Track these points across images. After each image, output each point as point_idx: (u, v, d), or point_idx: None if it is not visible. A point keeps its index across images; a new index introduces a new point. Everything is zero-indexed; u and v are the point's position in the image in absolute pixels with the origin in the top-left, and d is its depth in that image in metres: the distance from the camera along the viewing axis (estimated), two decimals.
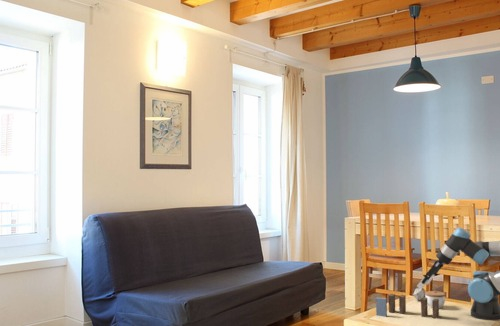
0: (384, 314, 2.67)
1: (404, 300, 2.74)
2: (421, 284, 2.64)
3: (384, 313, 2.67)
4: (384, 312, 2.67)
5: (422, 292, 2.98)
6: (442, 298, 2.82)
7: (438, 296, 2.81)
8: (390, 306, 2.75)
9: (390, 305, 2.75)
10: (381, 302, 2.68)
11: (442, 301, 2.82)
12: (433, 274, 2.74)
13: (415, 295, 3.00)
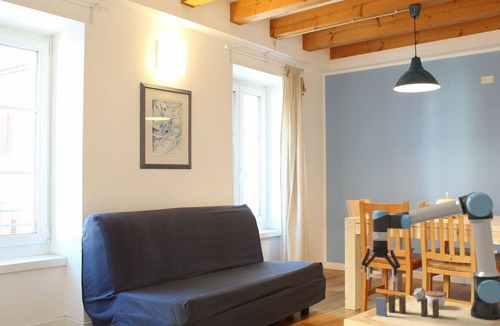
0: (384, 314, 2.67)
1: (404, 300, 2.74)
2: (394, 277, 2.66)
3: (384, 313, 2.67)
4: (384, 312, 2.67)
5: (422, 292, 2.98)
6: (442, 298, 2.82)
7: (438, 296, 2.81)
8: (390, 306, 2.75)
9: (390, 305, 2.75)
10: (381, 302, 2.68)
11: (442, 301, 2.82)
12: (368, 266, 2.74)
13: (415, 295, 3.00)
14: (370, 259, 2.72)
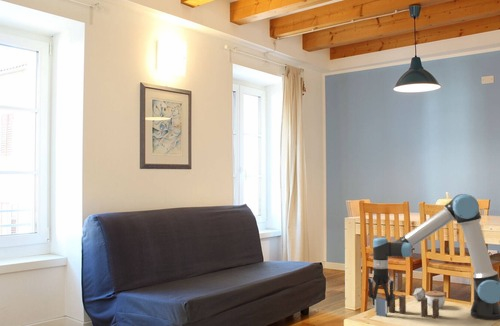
0: (384, 314, 2.67)
1: (404, 300, 2.74)
2: (387, 308, 2.67)
3: (384, 313, 2.67)
4: (384, 312, 2.67)
5: (422, 292, 2.98)
6: (442, 298, 2.82)
7: (438, 296, 2.81)
8: (390, 306, 2.75)
9: (390, 305, 2.75)
10: (381, 302, 2.68)
11: (442, 301, 2.82)
12: None
13: (415, 295, 3.00)
14: (375, 290, 2.70)
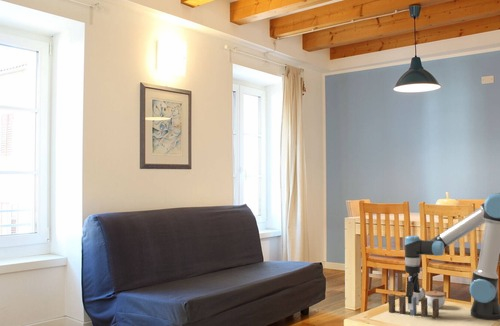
0: (416, 311, 2.72)
1: (404, 300, 2.74)
2: None
3: (416, 310, 2.72)
4: (416, 309, 2.72)
5: (422, 292, 2.98)
6: (442, 298, 2.82)
7: (438, 296, 2.81)
8: (390, 306, 2.75)
9: (390, 305, 2.75)
10: (415, 300, 2.71)
11: (442, 301, 2.82)
12: None
13: None
14: (413, 288, 2.67)
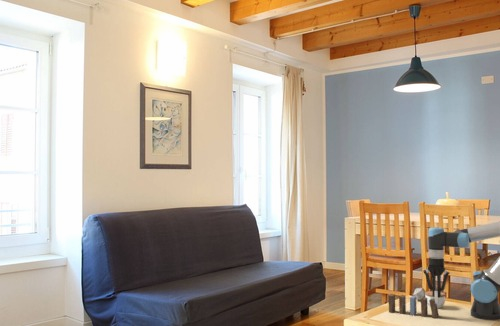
0: (416, 311, 2.72)
1: (404, 300, 2.74)
2: (438, 299, 2.64)
3: (416, 310, 2.72)
4: (416, 309, 2.72)
5: (422, 292, 2.98)
6: (442, 298, 2.82)
7: None
8: (390, 306, 2.75)
9: (390, 305, 2.75)
10: (415, 300, 2.71)
11: (442, 301, 2.82)
12: (435, 290, 2.66)
13: (415, 295, 3.00)
14: (432, 281, 2.65)
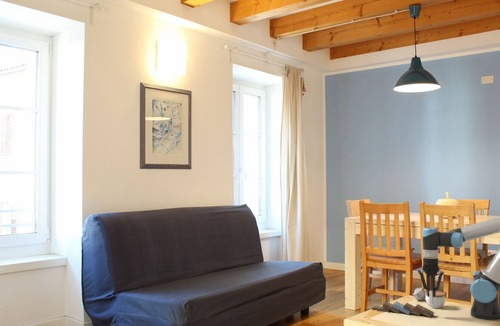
0: None
1: (388, 304, 2.79)
2: (432, 299, 2.66)
3: None
4: None
5: (422, 292, 2.98)
6: (442, 298, 2.82)
7: (438, 296, 2.81)
8: (382, 310, 2.77)
9: (381, 310, 2.77)
10: (398, 303, 2.76)
11: (442, 301, 2.82)
12: (430, 290, 2.67)
13: (415, 295, 3.00)
14: (427, 281, 2.66)
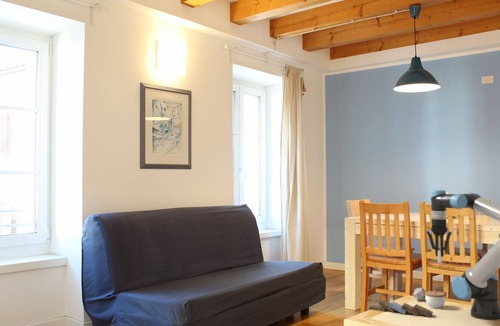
0: None
1: (385, 302, 2.81)
2: (441, 258, 2.76)
3: None
4: None
5: (422, 292, 2.98)
6: (442, 298, 2.82)
7: (438, 296, 2.81)
8: (378, 309, 2.79)
9: (377, 309, 2.79)
10: (395, 303, 2.77)
11: (442, 301, 2.82)
12: (438, 250, 2.77)
13: (415, 295, 3.00)
14: (436, 241, 2.76)
